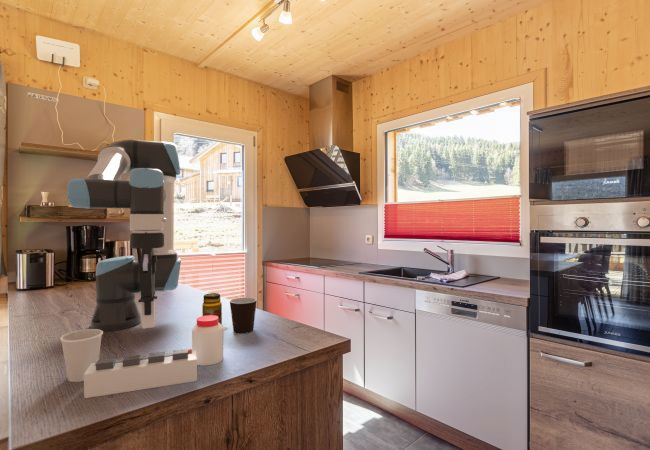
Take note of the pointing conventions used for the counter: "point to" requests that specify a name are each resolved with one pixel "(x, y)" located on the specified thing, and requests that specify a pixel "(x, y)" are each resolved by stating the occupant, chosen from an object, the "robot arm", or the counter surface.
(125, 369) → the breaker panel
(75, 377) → the dixie cup
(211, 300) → the condiment
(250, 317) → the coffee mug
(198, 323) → the pill bottle
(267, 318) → the counter surface
